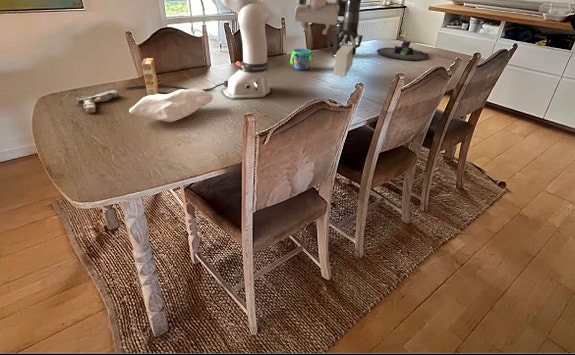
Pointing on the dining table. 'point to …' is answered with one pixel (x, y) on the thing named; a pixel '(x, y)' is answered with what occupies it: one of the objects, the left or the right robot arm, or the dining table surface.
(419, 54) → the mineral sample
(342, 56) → the box
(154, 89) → the candy box
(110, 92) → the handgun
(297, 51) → the snack cup
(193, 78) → the dining table surface
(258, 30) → the left robot arm
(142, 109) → the crumpled cloth
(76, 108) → the dining table surface
